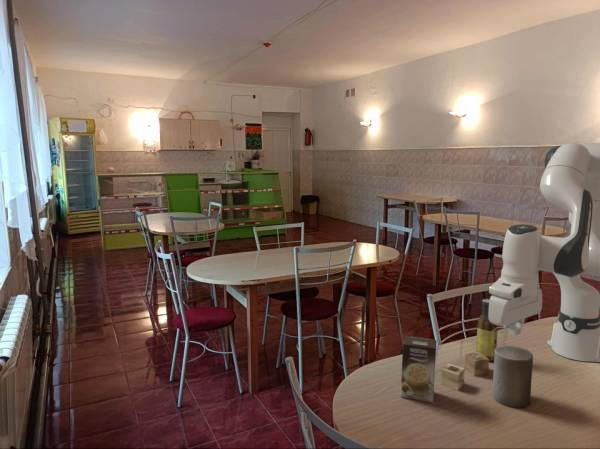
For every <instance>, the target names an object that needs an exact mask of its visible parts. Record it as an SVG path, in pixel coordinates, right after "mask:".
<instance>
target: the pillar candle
mask: <svg viewBox="0 0 600 449" xmlns="http://www.w3.org/2000/svg"><path fill="white" fill-rule="evenodd" d="M533 361H534V356H533V353H532V352H531V351H529V350H528V349H525V348H522V347H519V346H514V345H505V344H504V345H499V346H497V347H496V348H495V355H494V360H493V375H492V376H493V377H492V380H493V381H492V397H493V399H494V400H495V401H496V402H498V403H500V404H502V405H503V406H507V407H510V408H518V409H520V408H521V409H522V408H528V406H530V405H531V393H532V392H531V391H532V381H533V380H532V378H533V377H532V376H533V363H534V362H533Z"/></svg>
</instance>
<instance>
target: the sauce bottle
mask: <svg viewBox="0 0 600 449" xmlns="http://www.w3.org/2000/svg"><path fill="white" fill-rule="evenodd" d="M489 301H490V298H489V299H488V298H485V299H482V300H481V308H482V309H481V314H480V316H478V320H477V326H476V327H477V329H476V351H475V353H481V354H482V355H484V356H485V357H487V358H488V359H489V362H492V361H493V362H494V355H495V348H496V347H498V346H497V345H498V327H499V326H497V325H494V324H492V323H490V321H489Z"/></svg>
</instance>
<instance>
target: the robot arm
mask: <svg viewBox="0 0 600 449" xmlns="http://www.w3.org/2000/svg"><path fill="white" fill-rule="evenodd" d="M539 190H540V193H541V195H542V196H543V198H544V199H545V200H546V201H547V202H549V203H550V204H551V205H554V206H555V207H557V208H561V209H563V210H565V211H567V212H568V222H569V224H570V225H571V227H570V232H569V233H570V234H569V235H568V236H566V237H558V236H551V235H550V236H549V235H544V234H540V230H539V228H538V227H537V226H535V225H532V224H523V223H521V224H513V225H510V227H508V228H507V230H506V232H505V236H504V241H503V247H502V253H501V256H502V258H501V259H502V263H503V264H502V269H501V271H500V274H501V275H500V277H499V278H498V279H497V280H496V281H495V282H494V283H493V284H492V285H490V286H489V290H488V293H489V294H490V295H491V296H490V298H489V299H490V301H489V321H490V323H492V324H494V325H497V326H498V327H504V326H507V327H508V334H509V335H510V336H513V337H514V336H517V335H520V334H522V328H523V326H524V323H525V321H526V318H529V317H532V316H535V315H538V314H540V313H541V311H542V308H543V293H542V292H543V291H542V289H541V288H540V283H539V282H538V279H539V273H538V271H541V272H542V271H543V272H547V273H552V274H553V275H554V276H555V278H556V280H557V282H558V284H559V288H560V309H559V310H558V315H557V317H558V318H557V320H558V321H556V322H554V324H553V328H552V333H551V339H549V340H547V343H546V344H547V345H548V346H550V348H551V350H552V351H553V352H554V353H556V354H557V355H559V356H562V357H564V358H567V359H570V360H575V361H579V362H595V363H600V292H599V290H597V288H595V287H594V286H592V285H590V284H589V283H587V282H586V281H584V280H583V279H582V278H581V276H580V275H588V276H589V275H590V276H594V277H595V276H596V277H600V143H599V142H590V143H589V142H585V143H577V142H576V143H575V142H574V143H573V142H569V143H565V144H563V145H557V146H554V147H551V148H550V149H549V150H548V151H547V153H546V155H545V158H544V171H543V174H542V176H541V179H540V183H539Z"/></svg>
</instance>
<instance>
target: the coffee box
mask: <svg viewBox="0 0 600 449" xmlns="http://www.w3.org/2000/svg"><path fill="white" fill-rule="evenodd" d="M436 355H437V340H436V339H433V338H427V337H419V336H412V335H406V334H405V335H404V337H403V342H402V355H401V356H402V358H401V359H402V360H401V380H400V395H399V396H400V397H402V398H407V399H410V400H412V399H413V400H416V401H422V402H428V403H434V392H435V391H434V390H435V374H436V360H437V359H436V358H437V357H436Z"/></svg>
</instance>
